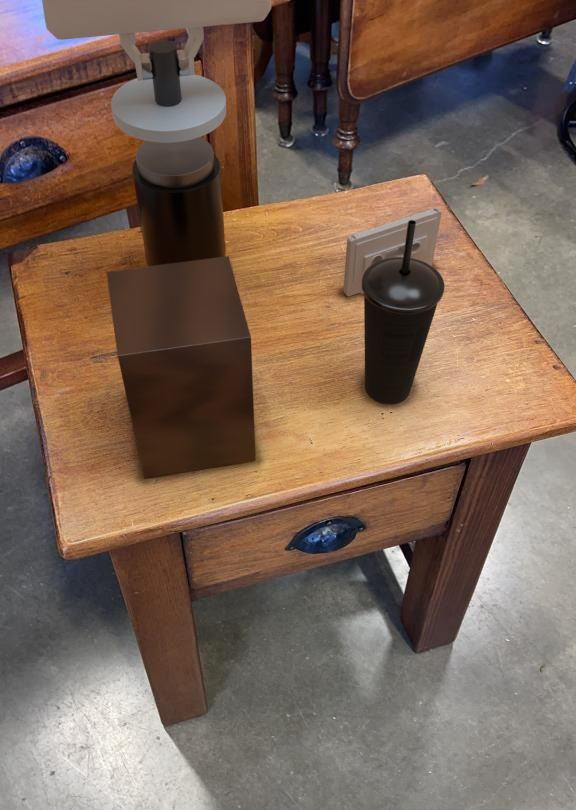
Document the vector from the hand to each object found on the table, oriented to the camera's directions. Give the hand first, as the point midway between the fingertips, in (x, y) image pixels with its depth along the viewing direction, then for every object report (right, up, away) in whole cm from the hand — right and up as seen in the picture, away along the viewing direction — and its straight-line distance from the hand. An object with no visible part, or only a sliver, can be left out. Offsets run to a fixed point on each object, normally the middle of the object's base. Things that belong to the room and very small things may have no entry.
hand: (166, 75), depth 79 cm
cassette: (+24, -14, +19) cm, 33 cm away
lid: (0, -2, +3) cm, 4 cm away
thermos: (0, -14, +19) cm, 23 cm away
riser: (+2, -33, +5) cm, 34 cm away
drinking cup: (+22, -29, +8) cm, 37 cm away
